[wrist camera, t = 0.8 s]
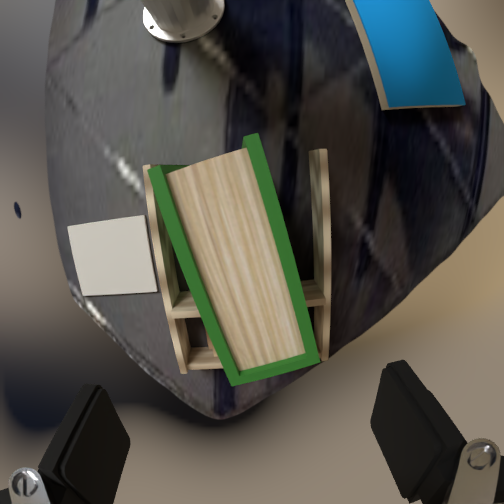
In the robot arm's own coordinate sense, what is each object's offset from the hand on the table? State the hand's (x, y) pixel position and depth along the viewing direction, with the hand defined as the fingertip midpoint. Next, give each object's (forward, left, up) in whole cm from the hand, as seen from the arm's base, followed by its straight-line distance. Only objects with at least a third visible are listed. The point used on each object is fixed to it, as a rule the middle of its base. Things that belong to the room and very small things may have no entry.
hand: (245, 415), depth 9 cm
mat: (+4, -21, -36) cm, 42 cm away
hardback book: (0, 0, -36) cm, 36 cm away
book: (-29, +29, -37) cm, 55 cm away
